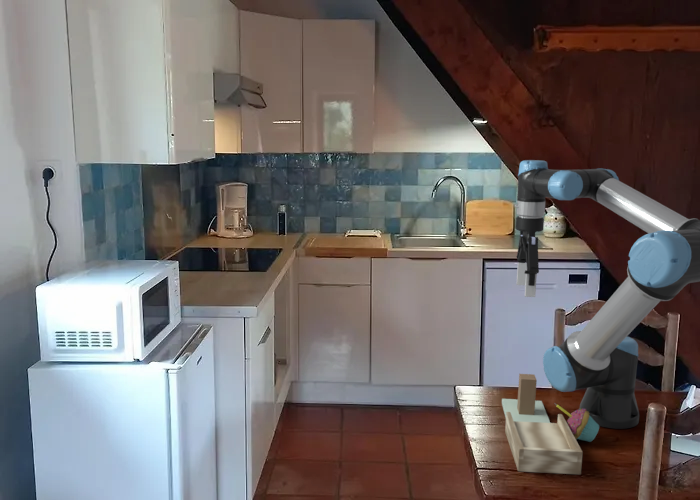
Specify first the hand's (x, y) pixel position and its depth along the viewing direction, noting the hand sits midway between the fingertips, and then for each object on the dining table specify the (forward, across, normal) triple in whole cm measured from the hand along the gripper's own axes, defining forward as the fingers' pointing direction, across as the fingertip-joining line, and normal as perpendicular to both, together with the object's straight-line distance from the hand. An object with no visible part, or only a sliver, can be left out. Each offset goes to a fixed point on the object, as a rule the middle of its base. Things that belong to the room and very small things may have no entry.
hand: (525, 290), depth 188 cm
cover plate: (+32, +14, 0) cm, 35 cm away
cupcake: (+30, +28, +14) cm, 43 cm away
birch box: (+32, +34, 0) cm, 46 cm away
